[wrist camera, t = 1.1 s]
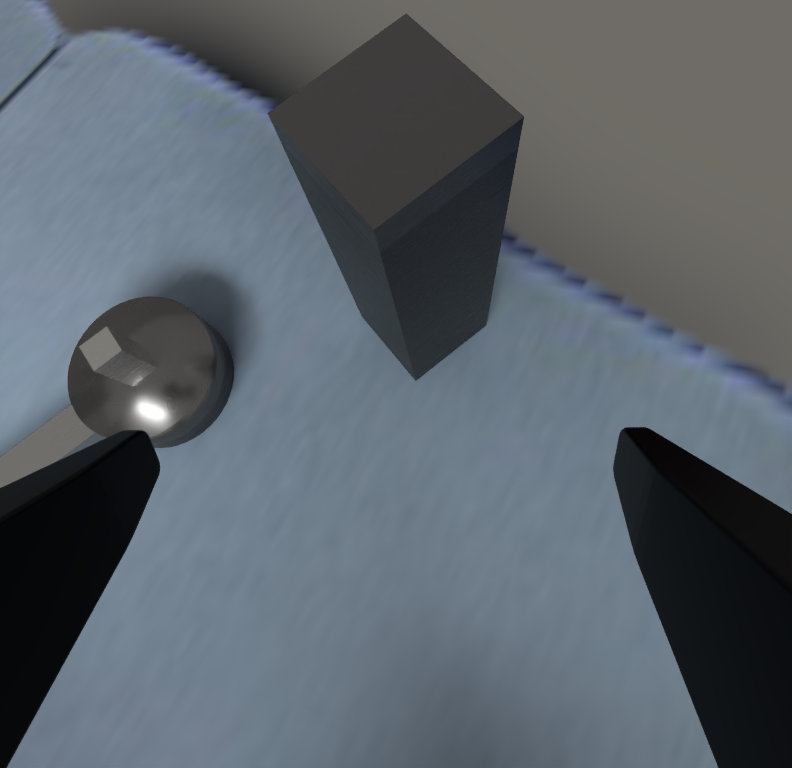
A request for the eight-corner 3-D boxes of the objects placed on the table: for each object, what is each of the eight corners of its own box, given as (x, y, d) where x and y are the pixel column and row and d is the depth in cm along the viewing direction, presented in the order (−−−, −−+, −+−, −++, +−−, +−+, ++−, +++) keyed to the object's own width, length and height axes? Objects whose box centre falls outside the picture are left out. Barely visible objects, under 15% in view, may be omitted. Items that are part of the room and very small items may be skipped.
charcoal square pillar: (486, 325, 24) (524, 116, 11) (415, 380, 23) (373, 229, 11) (429, 264, 25) (406, 14, 12) (362, 316, 24) (267, 113, 12)
